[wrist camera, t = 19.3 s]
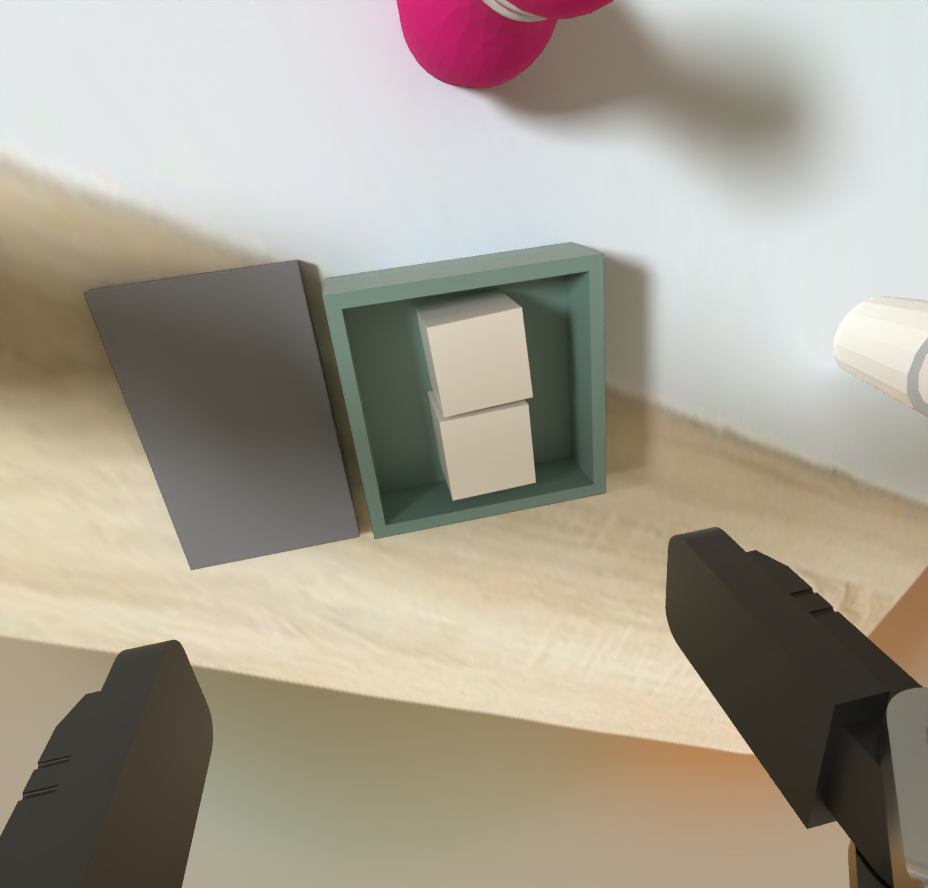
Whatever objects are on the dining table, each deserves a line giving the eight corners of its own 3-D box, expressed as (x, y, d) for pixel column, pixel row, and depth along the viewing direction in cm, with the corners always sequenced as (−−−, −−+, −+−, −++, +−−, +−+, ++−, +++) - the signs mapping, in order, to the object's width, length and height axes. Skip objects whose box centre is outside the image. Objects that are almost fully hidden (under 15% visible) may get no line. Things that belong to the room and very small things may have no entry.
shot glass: (806, 347, 42) (887, 379, 36) (882, 265, 40) (981, 283, 34) (857, 399, 45) (941, 437, 38) (930, 324, 43) (1030, 351, 37)
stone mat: (194, 561, 40) (191, 570, 39) (90, 289, 32) (83, 292, 31) (359, 528, 41) (359, 536, 40) (298, 259, 33) (297, 262, 33)
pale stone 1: (431, 386, 37) (444, 417, 32) (415, 307, 35) (426, 328, 30) (510, 369, 37) (532, 397, 33) (498, 289, 35) (521, 307, 31)
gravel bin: (370, 498, 40) (374, 539, 36) (324, 278, 34) (322, 295, 30) (577, 458, 42) (606, 493, 38) (570, 242, 36) (603, 253, 31)
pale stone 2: (440, 462, 39) (452, 500, 35) (427, 391, 37) (439, 422, 33) (514, 447, 40) (535, 482, 35) (506, 376, 38) (528, 404, 33)
